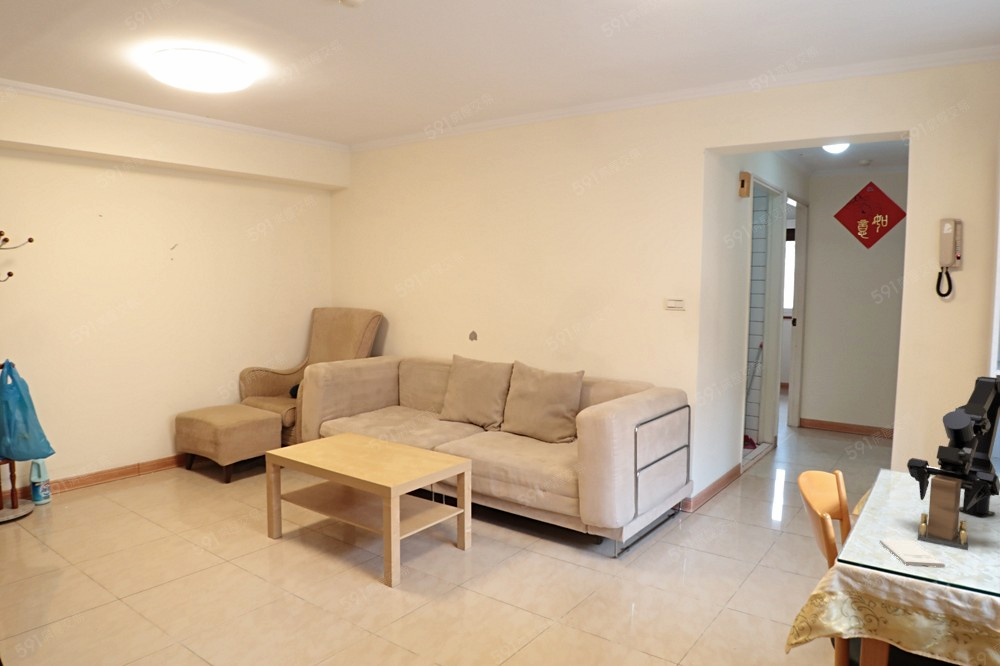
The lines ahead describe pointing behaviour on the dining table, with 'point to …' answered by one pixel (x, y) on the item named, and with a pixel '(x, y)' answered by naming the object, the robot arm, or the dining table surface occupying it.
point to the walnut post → (944, 506)
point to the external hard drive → (911, 553)
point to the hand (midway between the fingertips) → (942, 504)
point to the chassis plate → (956, 542)
